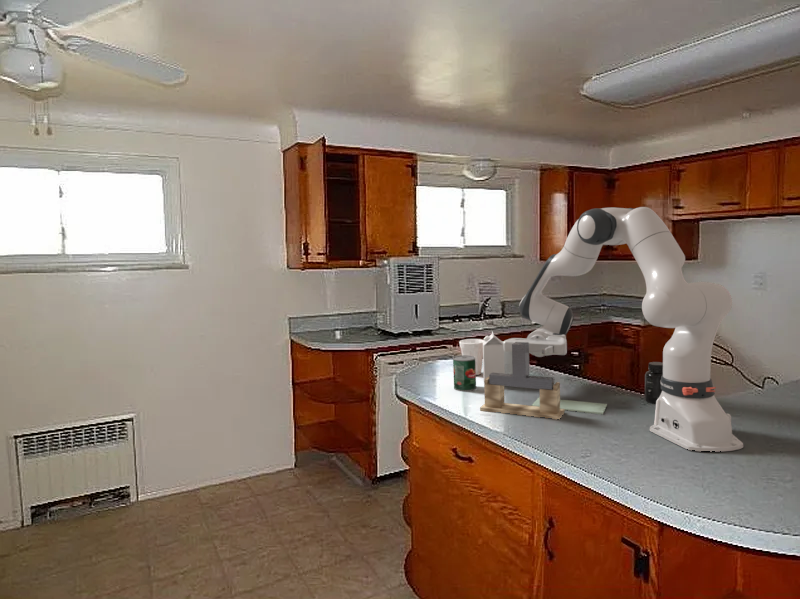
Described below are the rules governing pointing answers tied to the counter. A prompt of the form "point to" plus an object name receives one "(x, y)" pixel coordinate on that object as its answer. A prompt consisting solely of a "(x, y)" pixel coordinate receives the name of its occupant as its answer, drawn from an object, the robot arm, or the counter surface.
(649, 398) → the supplement bottle
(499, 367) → the milk carton
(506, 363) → the small box
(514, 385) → the grey inverted t block
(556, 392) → the stand
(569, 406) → the mat
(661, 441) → the counter surface
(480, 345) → the cup
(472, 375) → the canned tomato
